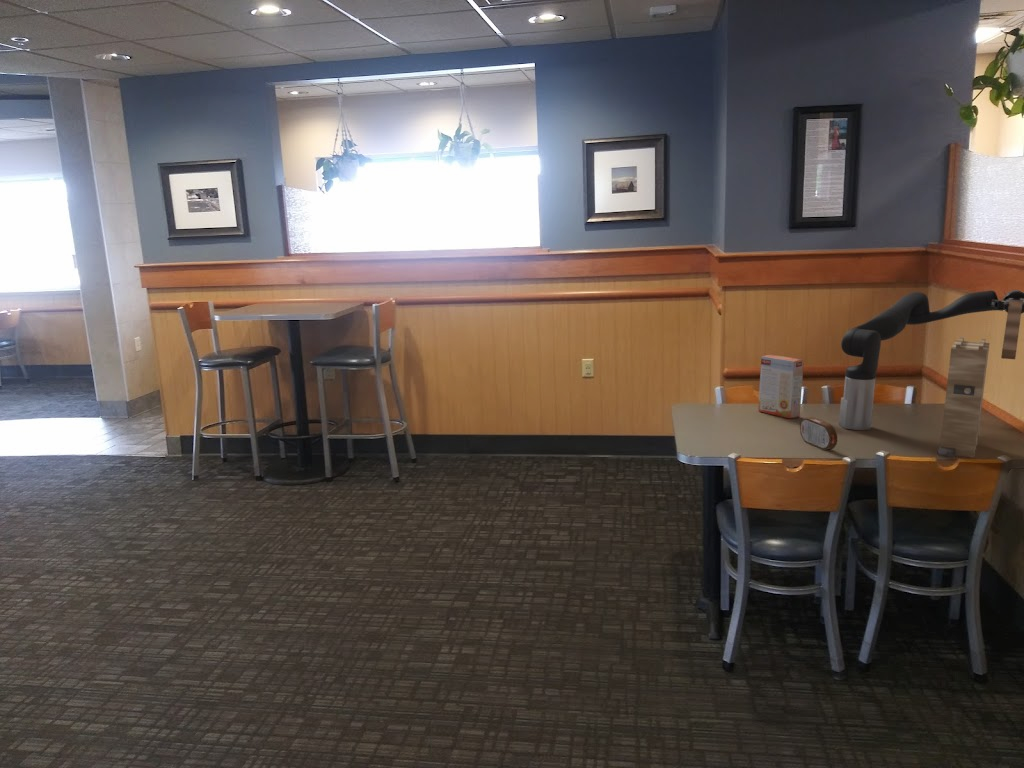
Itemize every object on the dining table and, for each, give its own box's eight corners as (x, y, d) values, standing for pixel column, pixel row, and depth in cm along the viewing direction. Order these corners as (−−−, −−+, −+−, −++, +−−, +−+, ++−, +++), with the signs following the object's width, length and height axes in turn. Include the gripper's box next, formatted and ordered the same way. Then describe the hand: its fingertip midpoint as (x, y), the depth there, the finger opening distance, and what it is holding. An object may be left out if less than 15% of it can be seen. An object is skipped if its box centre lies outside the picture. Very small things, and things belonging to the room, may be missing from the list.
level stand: (943, 439, 246) (954, 336, 239) (977, 444, 241) (990, 339, 234) (936, 457, 229) (948, 346, 222) (972, 462, 224) (986, 349, 217)
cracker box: (800, 416, 276) (804, 359, 271) (790, 419, 272) (794, 361, 268) (768, 409, 287) (771, 353, 283) (757, 411, 284) (760, 355, 279)
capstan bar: (1008, 308, 244) (1009, 299, 242) (1021, 309, 242) (1022, 300, 240) (1001, 358, 230) (1002, 349, 228) (1015, 359, 228) (1016, 350, 226)
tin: (837, 452, 235) (839, 425, 233) (828, 453, 234) (830, 426, 232) (805, 439, 249) (807, 413, 247) (797, 439, 248) (799, 414, 246)
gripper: (992, 289, 256) (990, 294, 242) (1043, 291, 249) (1044, 296, 235) (989, 312, 258) (987, 318, 244) (1040, 314, 250) (1041, 321, 236)
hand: (1015, 307), depth 239 cm, fingers closed on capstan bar, 3 cm apart
